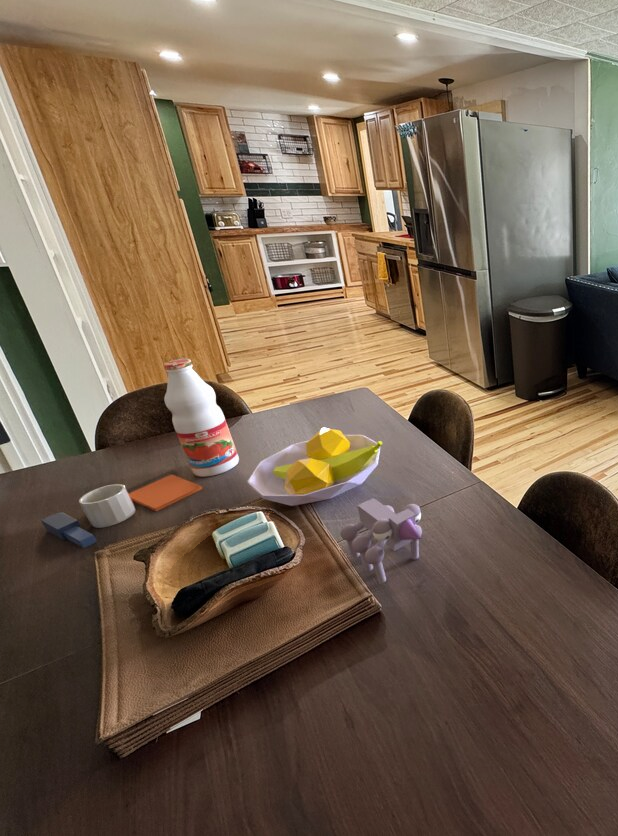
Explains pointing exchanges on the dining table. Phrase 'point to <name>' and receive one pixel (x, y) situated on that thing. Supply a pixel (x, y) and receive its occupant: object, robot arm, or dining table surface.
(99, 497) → the white round cup
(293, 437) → the dining table surface
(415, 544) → the toy sheep
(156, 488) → the orange tile
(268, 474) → the fruit bowl
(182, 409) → the fruit juice
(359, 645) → the dining table surface
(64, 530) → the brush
